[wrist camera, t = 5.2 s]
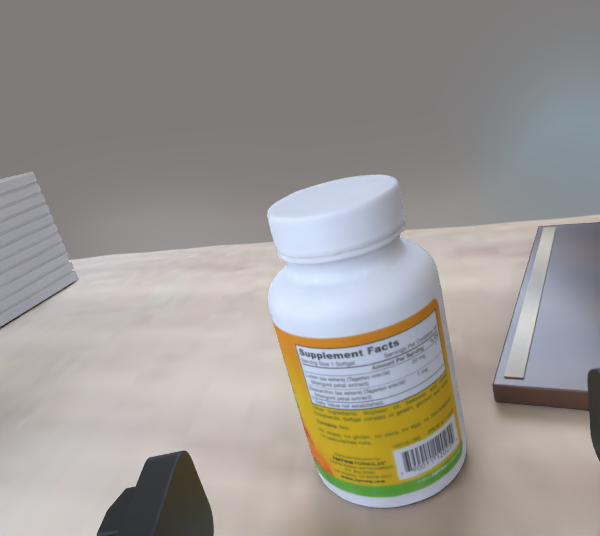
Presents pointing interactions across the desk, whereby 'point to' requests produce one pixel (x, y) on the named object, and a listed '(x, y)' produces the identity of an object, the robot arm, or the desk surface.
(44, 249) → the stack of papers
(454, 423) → the supplement bottle
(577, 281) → the dark brown flat bar
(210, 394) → the desk surface
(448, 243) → the desk surface
